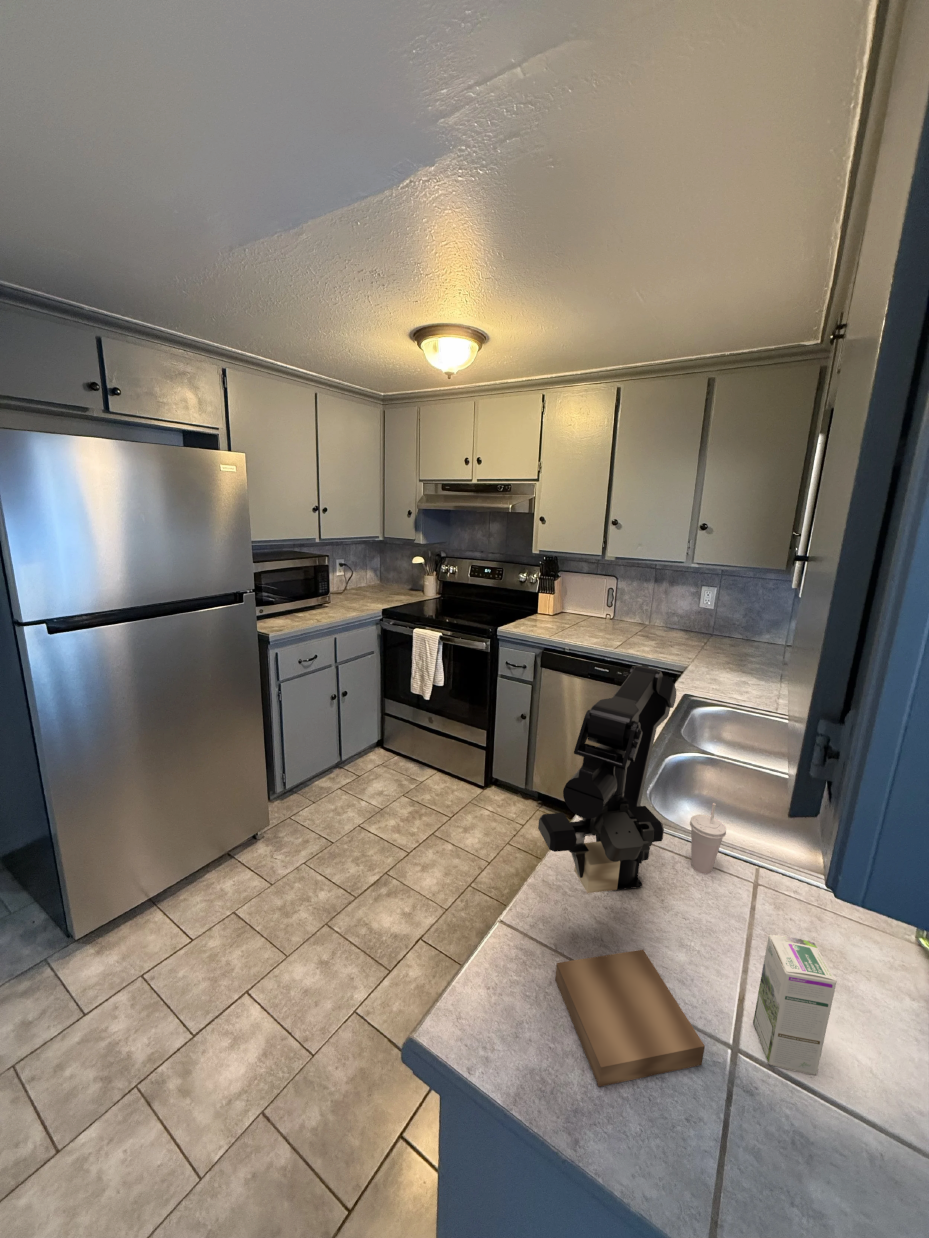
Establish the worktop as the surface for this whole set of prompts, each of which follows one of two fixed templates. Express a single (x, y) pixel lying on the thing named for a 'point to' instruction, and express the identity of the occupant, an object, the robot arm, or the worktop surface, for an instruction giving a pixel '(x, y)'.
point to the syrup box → (793, 1004)
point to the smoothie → (705, 841)
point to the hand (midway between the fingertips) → (595, 874)
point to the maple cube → (599, 870)
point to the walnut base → (626, 1017)
